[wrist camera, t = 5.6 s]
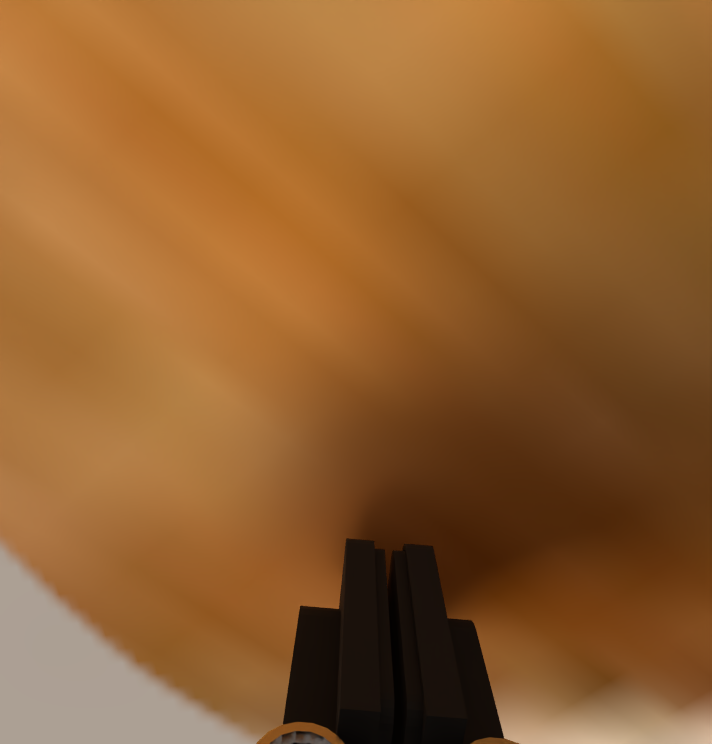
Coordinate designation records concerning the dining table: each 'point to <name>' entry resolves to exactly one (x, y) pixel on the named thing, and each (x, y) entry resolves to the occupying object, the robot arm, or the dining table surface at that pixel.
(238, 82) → the dining table surface
